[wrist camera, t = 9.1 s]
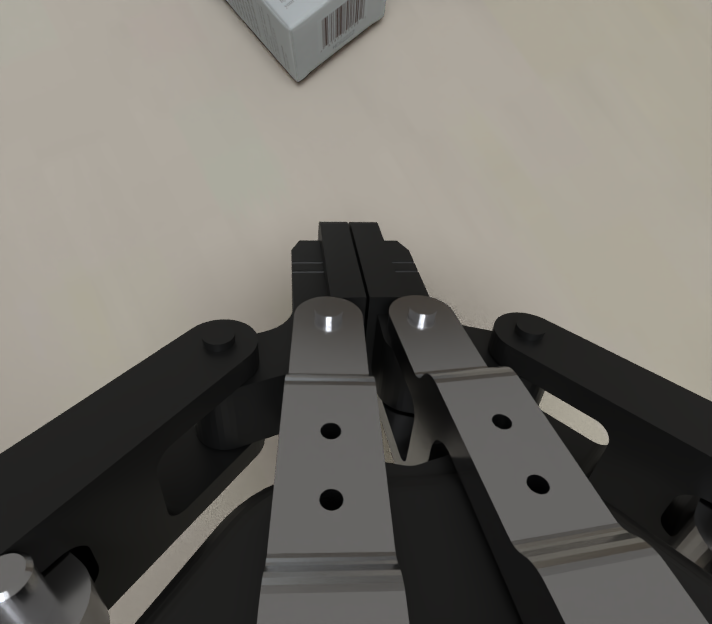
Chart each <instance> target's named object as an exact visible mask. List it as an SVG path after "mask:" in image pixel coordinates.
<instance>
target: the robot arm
mask: <svg viewBox="0 0 712 624" xmlns="http://www.w3.org/2000/svg"><path fill="white" fill-rule="evenodd" d="M291 253H292V311H293V312H292V315H291V316H290V318H289V319H288V320H287V321H286V322H285V323H283V324H282V325H280V326H278V327H277V328H274V329H272V330H269V331H265V332H261V333H257V334H256V332H255V331H254V330H253V329H252V328H251V327H250V326H249V325H247V324H245V323H242V322H239V321H235V320H213V321H209V322H205V323H202V324H200V325H197V326H196V327H194V328H192V329H191V330H189V331H187V332H186V333H184V334H183V335H181V336H180V337H178V338H177V339H175V340H174V341H172V342H171V343H169V344H168V345H166V346H165V347H163V348H161V349H160V350H158V351H157V352H155V353H154V354H152V355H151V356H149V357H148V358H146V359H145V360H143V361H142V362H140V363H139V364H137V365H135V366H134V367H132V368H131V369H129V370H128V371H126V372H125V373H123V374H122V375H120V376H119V377H117V378H116V379H114V380H113V381H111V382H109V383H108V384H106V385H105V386H103V387H102V388H100V389H99V390H97V391H96V392H94V393H93V394H91V395H90V396H88V397H87V398H85V399H84V400H82V401H80V402H79V403H77V404H76V405H74V406H73V407H71V408H70V409H68V410H67V411H65V412H64V413H62V414H61V415H59V416H58V417H56V418H54V419H53V420H51V421H50V422H48V423H47V424H45V425H44V426H42V427H41V428H39V429H38V430H36V431H35V432H33V433H32V434H30V435H28V436H27V437H25V438H24V439H22V440H21V441H19V442H18V443H16V444H15V445H13V446H12V447H10V448H9V449H7V450H6V451H4V452H2V453H1V454H0V624H110V616H109V613H108V610H109V609H110V608H111V607H112V606H113V605H114V604H115V603H116V602H117V601H118V600H119V599H120V598H121V596H122V595H123V594H124V593H125V592H126V591H127V590H128V589H129V588H130V587H131V586H132V585H133V584H134V583H135V582H136V581H137V580H138V579H139V578H140V577H141V576H142V575H143V574H144V573H145V572H146V571H147V569H148V568H149V567H150V566H151V565H152V564H153V563H154V562H155V561H156V560H157V559H158V558H159V557H160V556H161V555H162V554H163V553H164V552H165V551H166V550H167V549H168V548H169V547H170V546H171V545H172V544H173V542H174V541H175V540H176V539H177V538H178V537H179V536H180V535H181V534H182V533H183V532H184V531H185V530H186V529H187V528H188V527H189V526H190V525H191V524H192V523H193V522H194V521H195V520H196V519H197V518H198V516H199V515H200V514H201V513H202V512H203V511H204V510H205V509H206V508H207V507H208V506H209V505H210V504H211V503H212V502H213V501H214V500H215V499H216V498H217V497H218V496H219V495H220V494H221V493H222V492H223V491H224V489H225V488H226V487H227V486H228V485H229V484H230V483H231V482H232V481H233V480H234V479H235V478H236V477H237V476H238V475H239V474H240V473H241V472H242V471H243V470H244V469H245V468H246V467H247V466H248V465H249V464H250V462H251V461H252V460H253V459H254V458H255V457H256V456H257V455H258V454H259V453H260V451H261V450H262V448H263V445H264V440H265V439H266V438H269V437H272V436H275V435H278V434H279V441H278V451H277V461H276V471H275V480H274V485H272V486H270V487H267V488H265V489H263V490H262V491H260V492H258V493H256V494H255V495H253V496H251V497H250V498H249V499H247V500H246V501H245V502H243V503H242V504H240V505H239V506H238V507H237V508H235V509H234V510H233V511H232V512H231V513H230V514H229V515H228V516H227V517H226V518H225V519H224V520H223V521H222V522H221V523H220V524H219V525H218V526H217V528H216V529H215V530H214V531H213V532H212V533H211V535H210V536H209V537H208V538H207V539H206V541H205V542H204V543H203V544H202V545H201V546H200V548H199V549H198V550H197V551H196V552H195V553H194V555H193V556H192V557H191V558H190V559H189V561H188V562H187V563H186V564H185V565H184V566H183V568H182V569H181V570H180V571H179V572H178V573H177V575H176V576H175V577H174V578H173V579H172V580H171V582H170V583H169V584H168V585H167V586H166V588H165V589H164V590H163V591H162V592H161V593H160V595H159V596H158V597H157V598H156V599H155V600H154V602H153V603H152V604H151V605H150V606H149V608H148V609H147V610H146V611H145V612H144V613H143V615H142V616H141V617H140V618H139V619H138V620H137V622H136V623H135V624H712V402H711V401H709V400H707V399H705V398H703V397H701V396H699V395H697V394H695V393H693V392H691V391H689V390H687V389H685V388H683V387H681V386H679V385H677V384H675V383H673V382H671V381H669V380H667V379H665V378H663V377H661V376H659V375H657V374H655V373H653V372H651V371H649V370H647V369H644V368H642V367H640V366H638V365H636V364H634V363H632V362H630V361H628V360H626V359H624V358H622V357H620V356H618V355H616V354H614V353H612V352H610V351H608V350H606V349H604V348H602V347H600V346H598V345H596V344H594V343H592V342H590V341H588V340H586V339H584V338H582V337H580V336H578V335H576V334H574V333H572V332H569V331H567V330H565V329H563V328H561V327H559V326H557V325H555V324H553V323H551V322H549V321H547V320H545V319H543V318H541V317H538V316H535V315H531V314H527V313H517V312H516V313H507V314H504V315H502V316H500V317H498V318H497V319H496V321H495V323H494V327H493V330H492V331H490V330H484V329H479V328H474V327H468V326H464V325H461V323H460V321H459V320H458V318H457V317H456V315H455V313H454V312H453V310H452V309H451V308H450V307H449V306H448V305H447V304H445V303H444V302H442V301H440V300H437V299H435V298H432V297H429V295H428V293H427V290H426V288H425V286H424V283H423V281H422V279H421V277H420V274H419V272H418V270H417V268H416V265H415V263H414V261H413V259H412V256H411V254H410V252H409V250H408V249H407V248H405V247H404V246H403V245H402V244H400V243H399V242H398V241H384V239H383V237H382V234H381V231H380V228H379V226H378V223H377V222H349V224H348V223H347V222H319V230H318V241H299V242H298V243H297V244H296V245H295V247H294V248H293V249H292V250H291ZM544 391H547V392H549V393H550V394H552V395H554V396H556V397H557V398H559V399H561V400H562V401H564V402H566V403H568V404H569V405H571V406H573V407H574V408H576V409H578V410H580V411H581V412H583V413H585V414H586V415H588V416H590V417H592V418H593V419H595V420H597V421H598V422H599V423H600V424H602V425H603V427H604V428H605V429H606V431H607V433H608V436H609V443H608V445H600V444H597V443H595V442H593V441H591V440H589V439H588V438H586V437H584V436H583V435H581V434H579V433H578V432H576V431H575V430H573V429H571V428H570V427H568V426H566V425H565V424H563V423H561V422H560V421H558V420H556V419H555V418H553V417H552V416H550V415H548V414H547V413H545V412H543V411H542V410H541V409H540V408H539V403H540V401H541V399H542V396H543V394H544ZM377 394H378V398H377ZM380 419H381V422H382V425H383V429H384V432H385V435H386V438H387V441H388V444H389V448H390V451H391V454H392V457H393V460H394V464H393V463H387V462H385V459H384V450H383V442H382V433H381V425H380Z"/></svg>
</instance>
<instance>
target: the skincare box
mask: <svg viewBox="0 0 712 624" xmlns="http://www.w3.org/2000/svg"><path fill="white" fill-rule="evenodd" d="M226 1H227V2H228V3H229V4H230V5H231V7H232V8H233V9H234V10H235V11H236V12H237V14H238V15H239V16H240V17H241V18H242V19H243V21H244V22H245V23H246V24H247V25H248V26H249V27H250V29H251V30H252V31H253V32H254V33H255V34H256V36H257V37H258V38H259V39H260V40H261V41H262V42H263V44H264V45H265V46H266V47H267V48H268V49H269V51H270V52H271V53H272V54H273V55H274V56H275V58H276V59H277V60H278V61H279V62H280V63H281V65H282V66H283V67H284V68H285V69H286V70H287V71H288V73H289V74H290V75H291V76H292V77H293V78H294V79H295V80H296V81H297V82H299V81H301V80H302V79H304V78H305V77H306V76H307V75H308V74H309V73H310V72H311V71H312V70H314V69H315V68H316V67H317V66H319V65H320V64H321V63H323V62H324V61H325V60H326V59H328V58H329V57H330V56H331V55H333V54H334V53H335V52H336V51H338V50H339V49H340V48H342V47H343V46H344V45H346V44H347V43H348V42H350V41H351V40H352V39H353V38H355V37H356V36H357V35H359V34H360V33H361V32H362V31H364V30H365V29H366V28H368V27H369V26H370V25H371V24H373V23H375V22H377V21H378V20H379V19H381V18H382V17H383V16H384V11H385V3H386V0H226Z"/></svg>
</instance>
